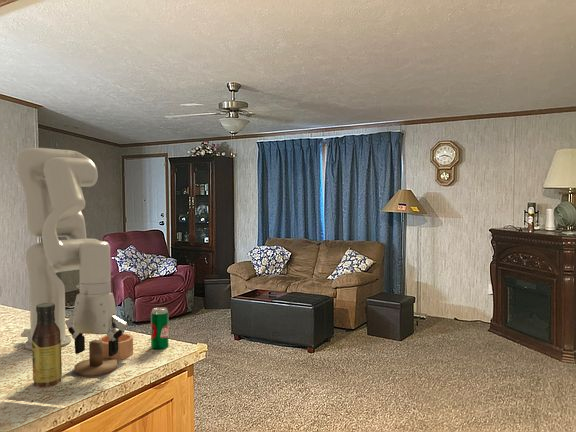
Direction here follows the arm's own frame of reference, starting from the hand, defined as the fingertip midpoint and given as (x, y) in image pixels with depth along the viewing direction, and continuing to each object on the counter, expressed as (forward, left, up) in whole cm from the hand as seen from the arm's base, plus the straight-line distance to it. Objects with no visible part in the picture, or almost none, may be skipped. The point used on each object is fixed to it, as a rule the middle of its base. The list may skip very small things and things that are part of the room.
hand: (96, 353), depth 122 cm
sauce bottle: (-6, -10, -5) cm, 13 cm away
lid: (0, 0, -4) cm, 4 cm away
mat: (0, 0, -5) cm, 5 cm away
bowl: (-1, +11, -5) cm, 12 cm away
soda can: (+8, +20, -5) cm, 22 cm away
